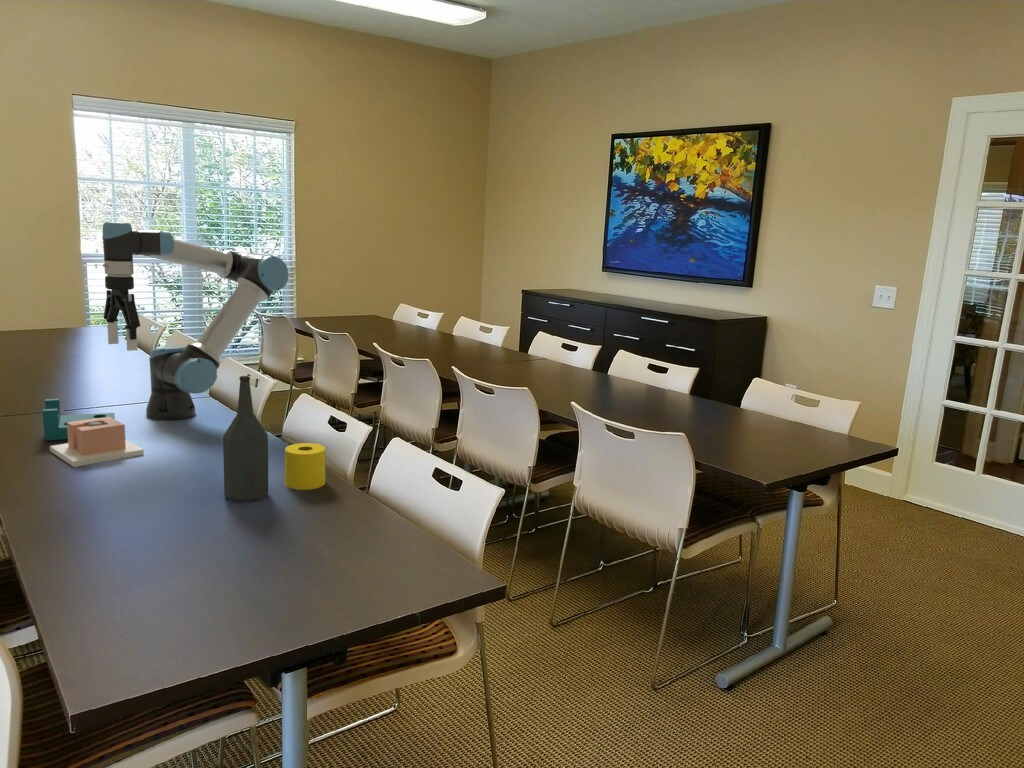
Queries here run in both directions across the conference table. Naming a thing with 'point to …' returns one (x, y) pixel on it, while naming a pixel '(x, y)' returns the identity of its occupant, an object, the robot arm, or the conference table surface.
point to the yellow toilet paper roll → (304, 466)
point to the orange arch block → (96, 436)
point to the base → (79, 460)
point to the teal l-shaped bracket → (62, 420)
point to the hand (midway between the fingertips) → (122, 347)
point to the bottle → (245, 452)
